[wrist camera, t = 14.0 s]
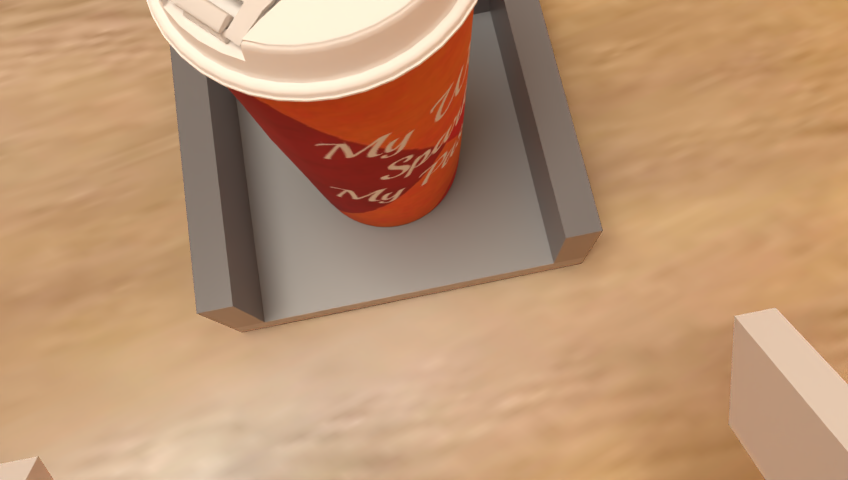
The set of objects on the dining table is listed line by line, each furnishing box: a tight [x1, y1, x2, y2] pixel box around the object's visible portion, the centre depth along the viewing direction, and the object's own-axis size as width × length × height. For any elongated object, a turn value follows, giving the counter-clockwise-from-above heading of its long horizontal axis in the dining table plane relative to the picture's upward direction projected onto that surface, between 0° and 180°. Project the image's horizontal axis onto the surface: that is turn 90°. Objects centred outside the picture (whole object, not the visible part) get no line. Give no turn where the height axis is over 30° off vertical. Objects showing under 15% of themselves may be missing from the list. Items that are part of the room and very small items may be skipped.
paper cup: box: [147, 0, 478, 227], centre depth 20 cm, size 8×8×14 cm
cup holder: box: [170, 0, 603, 332], centre depth 26 cm, size 12×13×4 cm
